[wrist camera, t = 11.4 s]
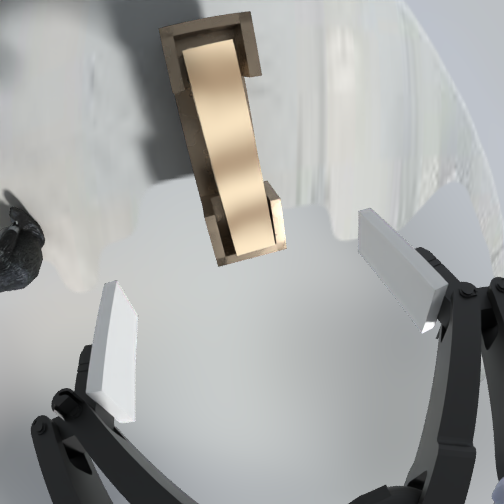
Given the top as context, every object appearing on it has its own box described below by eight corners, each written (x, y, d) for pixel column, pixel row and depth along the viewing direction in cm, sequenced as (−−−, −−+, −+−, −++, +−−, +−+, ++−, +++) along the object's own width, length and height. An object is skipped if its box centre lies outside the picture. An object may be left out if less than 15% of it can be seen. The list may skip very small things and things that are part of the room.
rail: (182, 54, 24) (182, 50, 20) (224, 44, 24) (232, 39, 20) (229, 231, 35) (237, 256, 31) (263, 221, 36) (275, 244, 32)
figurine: (0, 190, 31) (-57, 250, 19) (57, 209, 35) (14, 279, 23) (-3, 247, 35) (-45, 314, 23) (49, 265, 39) (18, 340, 27)
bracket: (162, 37, 27) (154, 24, 19) (232, 22, 28) (252, 5, 19) (207, 224, 42) (217, 270, 33) (265, 209, 42) (289, 251, 34)
